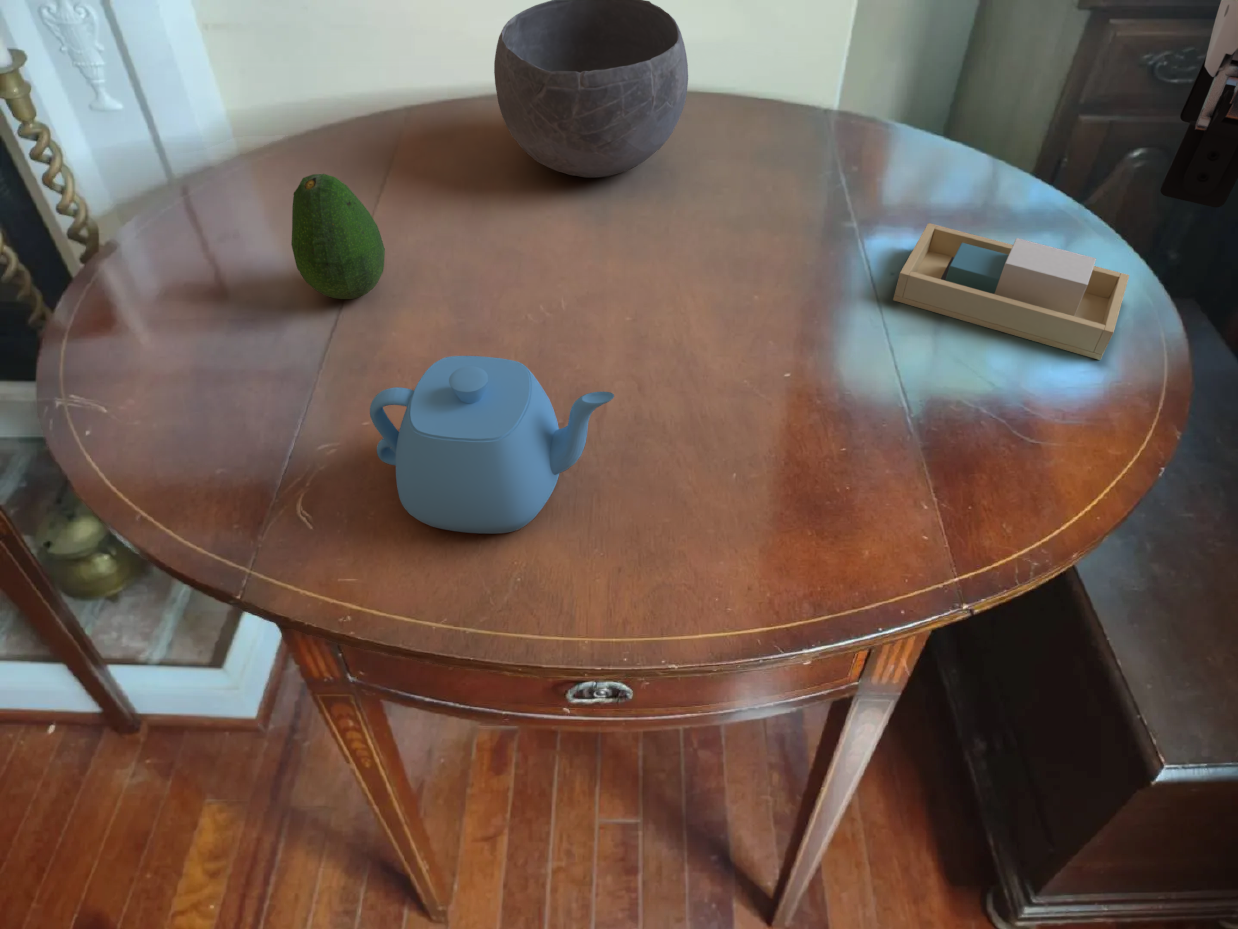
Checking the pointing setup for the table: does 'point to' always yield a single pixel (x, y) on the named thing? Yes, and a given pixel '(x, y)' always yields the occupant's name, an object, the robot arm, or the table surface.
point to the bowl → (591, 83)
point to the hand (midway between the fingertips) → (1198, 159)
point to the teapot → (479, 443)
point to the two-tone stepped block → (1024, 274)
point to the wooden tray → (1004, 314)
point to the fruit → (335, 239)
